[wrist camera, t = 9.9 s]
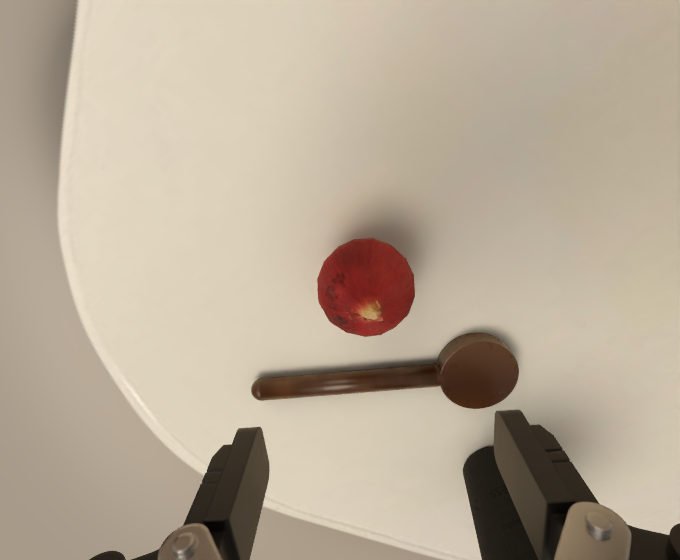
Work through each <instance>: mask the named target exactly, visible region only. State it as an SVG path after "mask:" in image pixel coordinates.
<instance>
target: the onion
mask: <svg viewBox="0 0 680 560" xmlns="http://www.w3.org/2000/svg"><path fill="white" fill-rule="evenodd" d="M317 280H318V299H319V303H320V305H321V307H322V309H323V310H324V312H325V314H326V316H327V318H328V319H329V321H330V322H331V323H332V324H334V325H336V326H337V327H339V328H341V329H342V330H344V331H345V332H347V333H352V334H356V335H361V336H364V337H366V336H375V335H381V334H383V333H385V332H387V331H389V330H391V329H393V328H394V327H396V326H397V325H398V324H399V323H400V322H401V321H402V320H403V319H404V318H405V317H406V316H407V315H408V313H409V311H410V308H411V305H412V303H413V300H414V297H415V288H414V275H413V272H412V270H411V268H410V266H409V264H408V262H407V260H406V258H404V257H403V256H402V255H401V254H400V253H399V252H398V251H397V250H396V249H395V248H394V247H392V246H391V245H389V244H386V243H383V242H381V241H378V240H375V239H357V240H352V241H350V242H348V243H346V244H343V245H341V246H339V247H338V248H337V249H336V250H335V251H334V252H333V253H332V254H331V255H330V256H329V257H328V258H327V259H326V260H325V261H324V263H323V266H322V268H321V271H320V274H319V276H318V279H317Z"/></svg>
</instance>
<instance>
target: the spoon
mask: <svg viewBox="0 0 680 560" xmlns="http://www.w3.org/2000/svg"><path fill="white" fill-rule="evenodd" d="M518 374H519V368H518V364H517V361H516V359H515V357H514V355H513V354H512V353H511V351H510V350H509V349H508V347H507V346H506V345H505V344H504V343H503V342H502V341H501V340H499V339H498V338H496V337H494V336H492V335H489V334H484V333H471V334H466V335H463V336H460V337H458V338H456V339H454V340H453V341H451V342H450V343H449V344H448V345H447V346H446V347H445V348H444V349H443V350H442V352H441V353H440V355H439V357H438V360H437V364H431V365H419V366H407V367H395V368H383V369H372V370H360V371H348V372H336V373H324V374H312V375H300V376H288V377H276V378H264V379H259V380H257V381H255V382H254V383H253V385H252V388H251V392H252V395H253V397H254V398H255V399H257V400H262V401H263V400H275V399H288V398H300V397H313V396H325V395H338V394H350V393H363V392H375V391H388V390H400V389H413V388H425V387H437V386H441V388H442V390H443V392H444V394H445V395H446V396H447V397H448V398H449V399H450V400H451V401H452V402H454V403H455V404H457V405H459V406H462V407H466V408H473V409H479V408H486V407H489V406H492V405H495V404H497V403H499V402H500V401H502V400H503V399H505V398H506V397H507V396H508V395H509V394H510V393H511V392H512V390H513V389H514V387H515V385H516V383H517V380H518Z"/></svg>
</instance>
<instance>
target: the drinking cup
mask: <svg viewBox="0 0 680 560" xmlns="http://www.w3.org/2000/svg"><path fill="white" fill-rule="evenodd" d="M463 475H464V479H465V484H466V488H467V493H468V497H469V502H470V507H471V511H472V516H473V520H474V525H475V529H476V534H477V538H478V543H479V548H480V552H481V557H482V560H538V557H537V555H536V553H535V550H534V548H533V546H532V544H531V541H530V539H529V537H528V535H527V532H526V530H525V528H524V525H523V523H522V521H521V519H520V516H519V514H518V512H517V510H516V507H515V505H514V503H513V500H512V498H511V496H510V494H509V491H508V489H507V487H506V485H505V482H504V480H503V478H502V475H501V473H500V471H499V469H498V466H497V463H496V459H495V454H494V446H493V447H486V448H483V449H480V450H478V451H476V452H475V453H473V454H472V455H471V456H470V457H469V458H468V459H467V461H466V463H465V465H464V469H463Z"/></svg>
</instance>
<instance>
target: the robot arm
mask: <svg viewBox="0 0 680 560" xmlns="http://www.w3.org/2000/svg"><path fill="white" fill-rule="evenodd" d="M494 454H495V459H496V463H497V466H498V469H499V471H500V473H501V475H502V478H503V480H504V482H505V485H506V487H507V489H508V491H509V494H510V496H511V498H512V500H513V503H514V505H515V507H516V510H517V512H518V514H519V516H520V519H521V521H522V523H523V525H524V528H525V530H526V532H527V535H528V537H529V539H530V541H531V544H532V546H533V548H534V550H535V553H536V555H537V557H538V560H680V524H677V525H675V526H674V527H673V528H672V529H671V531H670V535H665V534H661V533H656V532H652V531H647V530H643V529H639V528H635V527H632V526H630V525H627V524H626V522H625V521H624V520H623V519H622V518H621V517H620V516H619V515H618V514H617V513H615V512H614V511H612V510H611V509H609V508H607V507H605V506H603V505H600V504H599V503H598V501H597V500H596V498H595V497H594V495H593V494H592V492H591V491H590V489H589V488H588V486H587V485H586V483H585V482H584V480H583V479H582V477H581V476H580V474H579V473H578V471H577V470H576V468H575V467H574V465H573V464H572V462H570V460H569V458H568V456H567V455H566V453H565V452H564V451H563V450H562V447H561V446H560V444H559V443H558V441H557V440H556V438H555V437H554V435H552V434H551V433H550V432H548V431H547V430H546V429H544V428H543V427H542V426H541V425H529V423H528V421H527V420H526V418H525V416H524V415H523V413H522V412H521V411H520V410H506V411H496V413H495V426H494ZM268 480H269V460H268V455H267V451H266V446H265V441H264V437H263V432H262V429H261V427H252V428H239V429H238V430H237V432H236V435H235V438H234V440H233V443H232V445H223V446H222V447H221V448H220V449H219V450H218V452H217V453H216V454H215V455H214V456H213V457H212V459H211V462H210V464H209V466H208V469H207V473H205V476H204V478H203V480H202V484H201V485H200V488H199V490H198V492H197V494H196V497H195V499H194V502H193V504H192V506H191V508H190V511H189V513H188V515H187V518H186V520H185V523H184V525H183V526H182V527H180V528H178V529H177V530H175V531H174V532H172V533H171V534H170V535H169V536H168V537H167V538H166V539H165V541H164V542H163V544H162V545H161V547H160V549H158V550H156V551H154V552H152V553H149V554H146V555H143V556H140V557H138V558H135V559H132V560H249V559H250V555H251V551H252V547H253V543H254V539H255V535H256V530H257V526H258V522H259V518H260V513H261V509H262V505H263V501H264V497H265V493H266V488H267V484H268ZM90 560H126V559H125V557H124V555H123V554H121V553H120V552H117V551H108V552H104V553H101V554H99V555H97V556H95V557H93V558H91V559H90Z"/></svg>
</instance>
